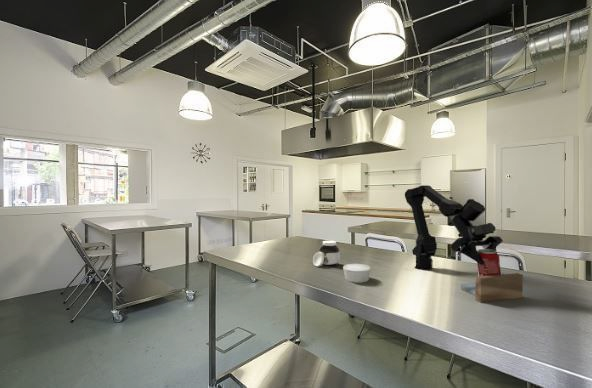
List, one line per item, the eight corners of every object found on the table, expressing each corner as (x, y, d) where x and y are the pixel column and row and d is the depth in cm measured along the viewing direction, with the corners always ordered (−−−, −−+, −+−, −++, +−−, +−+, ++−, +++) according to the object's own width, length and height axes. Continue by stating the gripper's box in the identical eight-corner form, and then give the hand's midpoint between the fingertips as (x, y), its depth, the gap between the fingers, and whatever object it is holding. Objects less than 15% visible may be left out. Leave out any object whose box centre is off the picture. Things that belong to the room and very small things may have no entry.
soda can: (501, 288, 94) (498, 253, 93) (478, 285, 98) (474, 252, 98) (502, 281, 99) (499, 248, 99) (480, 279, 103) (476, 248, 103)
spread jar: (341, 264, 137) (341, 241, 137) (332, 270, 128) (332, 245, 128) (320, 261, 144) (320, 239, 144) (310, 266, 134) (310, 242, 134)
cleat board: (453, 290, 102) (453, 268, 102) (491, 286, 106) (492, 265, 106) (480, 302, 91) (480, 278, 91) (522, 297, 95) (522, 274, 95)
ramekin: (338, 279, 114) (338, 267, 114) (352, 273, 122) (352, 262, 122) (362, 286, 107) (362, 272, 107) (375, 279, 115) (375, 266, 115)
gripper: (457, 216, 99) (484, 253, 89) (498, 215, 104) (528, 250, 93) (441, 233, 107) (464, 269, 97) (479, 232, 112) (505, 266, 101)
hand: (490, 263), depth 97 cm, fingers closed on soda can, 6 cm apart
